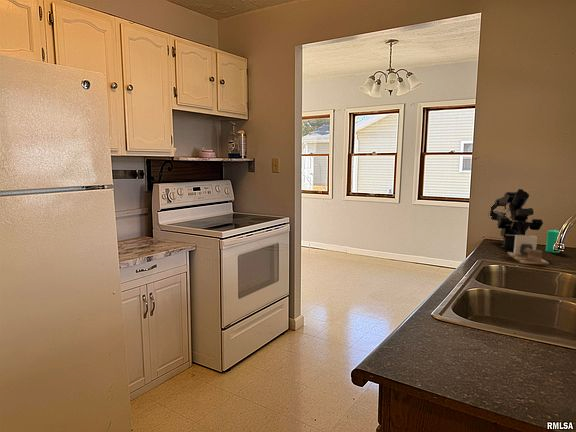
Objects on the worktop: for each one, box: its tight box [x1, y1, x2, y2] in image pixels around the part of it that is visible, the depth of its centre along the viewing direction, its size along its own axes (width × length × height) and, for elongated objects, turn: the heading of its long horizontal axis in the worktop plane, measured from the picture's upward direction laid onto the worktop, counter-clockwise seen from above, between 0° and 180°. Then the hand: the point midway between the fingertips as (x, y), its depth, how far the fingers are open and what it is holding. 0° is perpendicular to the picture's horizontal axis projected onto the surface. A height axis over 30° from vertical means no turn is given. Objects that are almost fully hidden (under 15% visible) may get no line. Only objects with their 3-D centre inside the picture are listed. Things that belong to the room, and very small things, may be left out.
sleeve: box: [513, 234, 538, 255], centre depth 184 cm, size 3×9×9 cm, turn 79°
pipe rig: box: [507, 246, 550, 266], centre depth 182 cm, size 18×11×6 cm, turn 169°
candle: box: [545, 229, 561, 254], centre depth 198 cm, size 6×6×12 cm
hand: (523, 237), depth 187 cm, fingers closed
